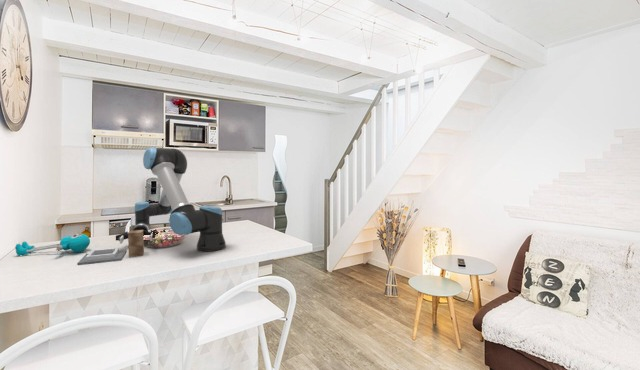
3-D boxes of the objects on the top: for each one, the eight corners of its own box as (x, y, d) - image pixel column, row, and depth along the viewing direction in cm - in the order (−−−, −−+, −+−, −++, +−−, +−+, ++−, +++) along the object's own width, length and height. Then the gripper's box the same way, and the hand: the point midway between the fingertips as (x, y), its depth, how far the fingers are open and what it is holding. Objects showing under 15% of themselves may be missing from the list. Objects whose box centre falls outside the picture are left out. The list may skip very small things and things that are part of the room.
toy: (33, 237, 163) (96, 227, 169) (38, 255, 164) (100, 244, 171) (0, 249, 142) (74, 237, 148) (6, 269, 143) (78, 257, 149)
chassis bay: (126, 251, 160) (126, 246, 159) (121, 260, 146) (121, 254, 146) (86, 255, 152) (86, 249, 152) (77, 265, 139) (77, 258, 139)
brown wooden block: (144, 252, 159) (143, 229, 158) (142, 255, 154) (142, 232, 153) (130, 253, 157) (129, 230, 156) (128, 257, 151) (128, 233, 150)
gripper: (164, 235, 182) (163, 244, 163) (115, 239, 172) (107, 249, 153) (164, 223, 182) (162, 230, 163) (115, 226, 171) (106, 234, 152)
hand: (136, 239), depth 158 cm, fingers open, 13 cm apart
